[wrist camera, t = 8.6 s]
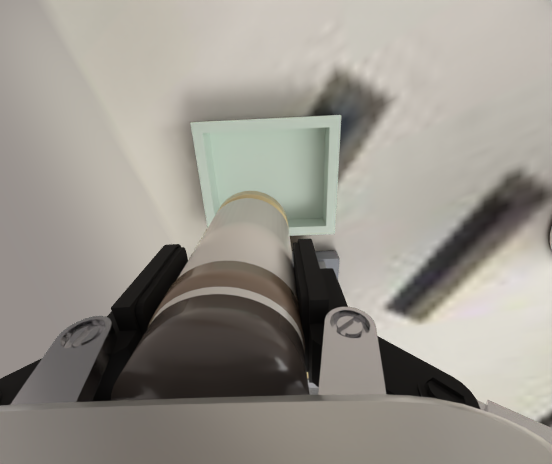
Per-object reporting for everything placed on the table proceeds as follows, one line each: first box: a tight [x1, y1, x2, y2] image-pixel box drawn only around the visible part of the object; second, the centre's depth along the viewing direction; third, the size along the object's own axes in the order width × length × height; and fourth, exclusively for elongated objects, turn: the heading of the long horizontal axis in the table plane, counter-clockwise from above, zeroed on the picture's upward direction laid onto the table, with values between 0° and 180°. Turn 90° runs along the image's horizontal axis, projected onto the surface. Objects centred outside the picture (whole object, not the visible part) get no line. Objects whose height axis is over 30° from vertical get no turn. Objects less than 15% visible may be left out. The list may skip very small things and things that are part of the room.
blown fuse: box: [111, 191, 310, 401], centre depth 11 cm, size 4×4×11 cm
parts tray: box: [190, 115, 341, 236], centre depth 28 cm, size 14×12×4 cm
